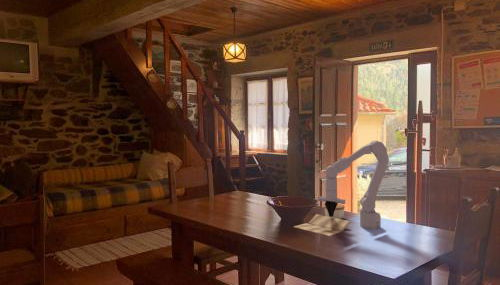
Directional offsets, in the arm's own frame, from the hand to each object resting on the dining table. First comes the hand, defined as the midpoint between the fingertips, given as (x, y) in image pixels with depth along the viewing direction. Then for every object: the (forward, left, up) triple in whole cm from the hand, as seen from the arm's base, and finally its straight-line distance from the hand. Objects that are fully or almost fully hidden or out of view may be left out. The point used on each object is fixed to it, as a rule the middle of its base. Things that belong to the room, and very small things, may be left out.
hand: (331, 216), depth 199 cm
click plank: (0, +2, -4) cm, 4 cm away
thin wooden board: (0, +12, -6) cm, 13 cm away
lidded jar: (+8, -14, -6) cm, 17 cm away
